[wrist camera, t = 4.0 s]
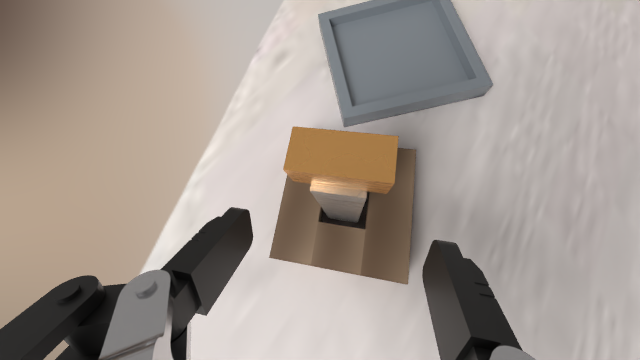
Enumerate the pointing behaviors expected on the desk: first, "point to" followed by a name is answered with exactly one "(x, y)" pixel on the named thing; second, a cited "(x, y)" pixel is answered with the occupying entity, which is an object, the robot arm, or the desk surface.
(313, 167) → the key
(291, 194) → the socket plate
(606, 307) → the desk surface
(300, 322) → the desk surface
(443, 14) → the tray
